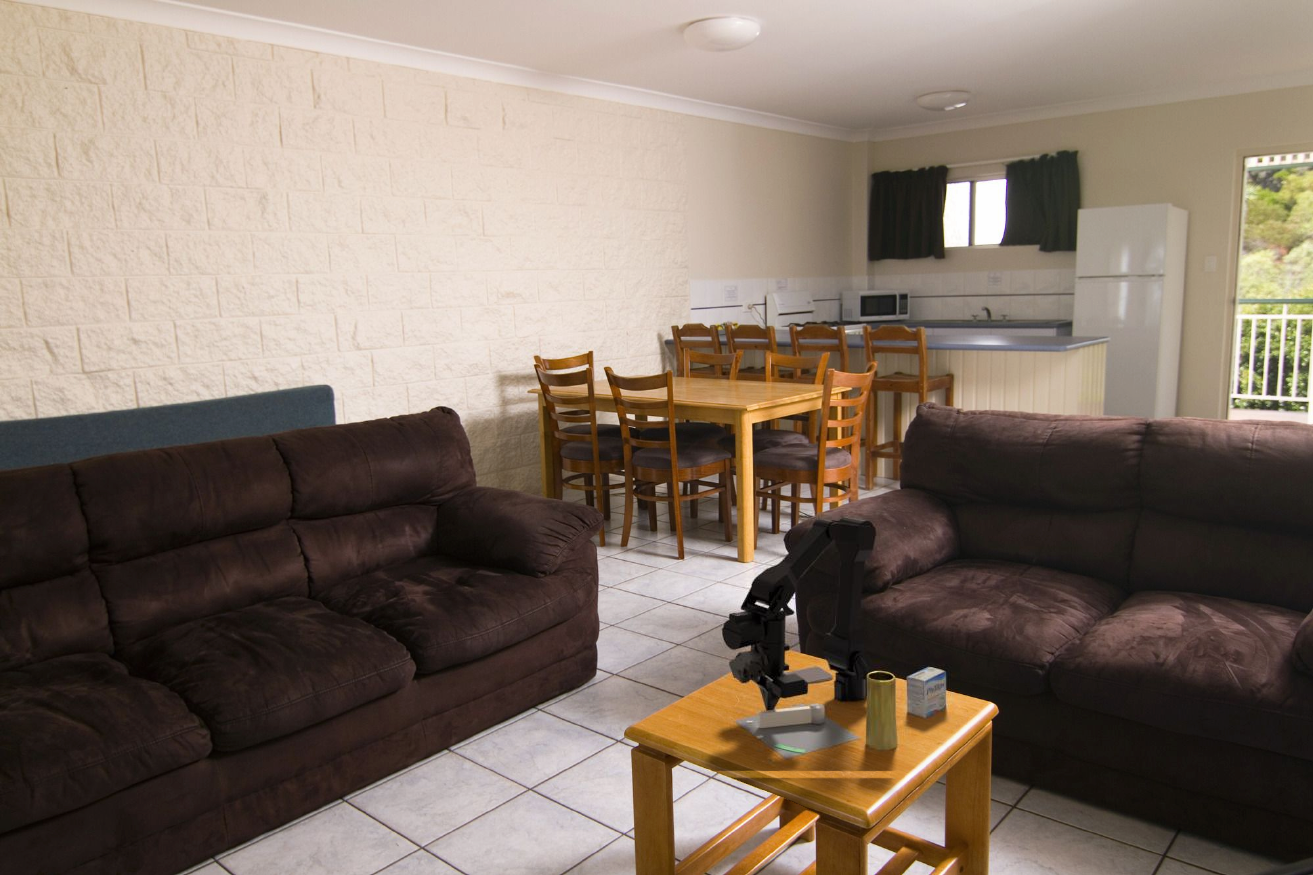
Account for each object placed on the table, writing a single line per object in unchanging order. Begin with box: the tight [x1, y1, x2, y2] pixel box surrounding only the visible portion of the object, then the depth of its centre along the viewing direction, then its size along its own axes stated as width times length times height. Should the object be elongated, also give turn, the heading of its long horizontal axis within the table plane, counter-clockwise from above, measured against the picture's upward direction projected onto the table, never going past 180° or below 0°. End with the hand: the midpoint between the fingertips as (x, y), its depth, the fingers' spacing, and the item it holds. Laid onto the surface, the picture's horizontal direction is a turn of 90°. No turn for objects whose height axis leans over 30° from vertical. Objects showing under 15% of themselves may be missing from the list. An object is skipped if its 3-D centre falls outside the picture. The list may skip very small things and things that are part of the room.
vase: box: [865, 670, 899, 751], centre depth 173 cm, size 6×6×14 cm
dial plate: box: [734, 703, 861, 760], centre depth 181 cm, size 17×19×1 cm
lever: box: [757, 703, 826, 728], centre depth 183 cm, size 14×3×3 cm, turn 99°
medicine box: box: [906, 666, 947, 719], centre depth 188 cm, size 8×4×9 cm, turn 131°
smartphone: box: [785, 666, 834, 685], centre depth 209 cm, size 7×1×15 cm
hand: (769, 713), depth 183 cm, fingers closed
